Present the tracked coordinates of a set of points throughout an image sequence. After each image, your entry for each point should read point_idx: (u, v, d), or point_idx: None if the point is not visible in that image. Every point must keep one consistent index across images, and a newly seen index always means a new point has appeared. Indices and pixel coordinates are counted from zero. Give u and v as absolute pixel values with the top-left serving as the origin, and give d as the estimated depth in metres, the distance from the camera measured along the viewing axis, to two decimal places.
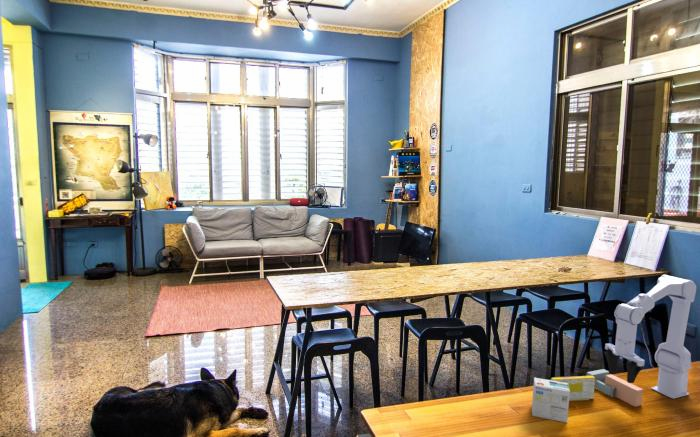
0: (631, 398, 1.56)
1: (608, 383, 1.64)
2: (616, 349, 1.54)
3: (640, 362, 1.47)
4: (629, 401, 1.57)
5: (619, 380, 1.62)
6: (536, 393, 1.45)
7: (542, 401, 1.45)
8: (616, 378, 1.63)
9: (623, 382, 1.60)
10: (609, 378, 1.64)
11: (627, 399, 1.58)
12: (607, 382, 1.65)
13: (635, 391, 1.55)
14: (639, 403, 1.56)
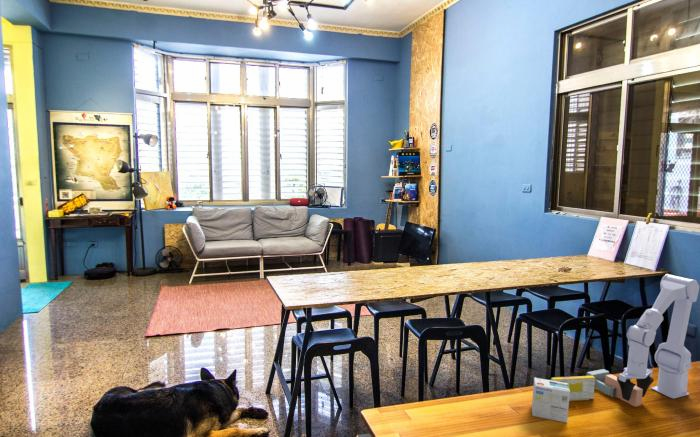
0: (631, 398, 1.56)
1: (608, 383, 1.64)
2: None
3: (619, 376, 1.54)
4: (629, 401, 1.57)
5: None
6: (536, 393, 1.45)
7: (542, 401, 1.45)
8: (616, 378, 1.63)
9: None
10: (609, 378, 1.64)
11: None
12: (607, 382, 1.65)
13: (635, 391, 1.55)
14: (639, 403, 1.56)
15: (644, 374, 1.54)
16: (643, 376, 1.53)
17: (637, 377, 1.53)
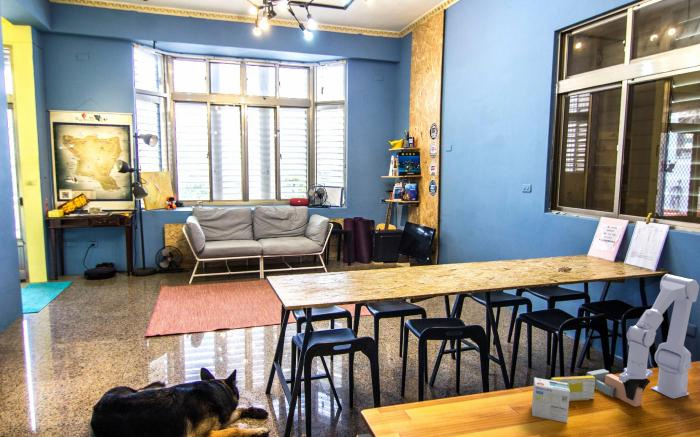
0: None
1: (608, 383, 1.64)
2: None
3: (619, 376, 1.54)
4: (629, 401, 1.57)
5: (619, 380, 1.62)
6: (536, 393, 1.45)
7: (542, 401, 1.45)
8: (616, 378, 1.63)
9: None
10: (609, 378, 1.64)
11: (627, 399, 1.58)
12: (607, 382, 1.65)
13: None
14: (639, 403, 1.56)
15: (644, 374, 1.54)
16: (643, 376, 1.53)
17: (637, 377, 1.53)
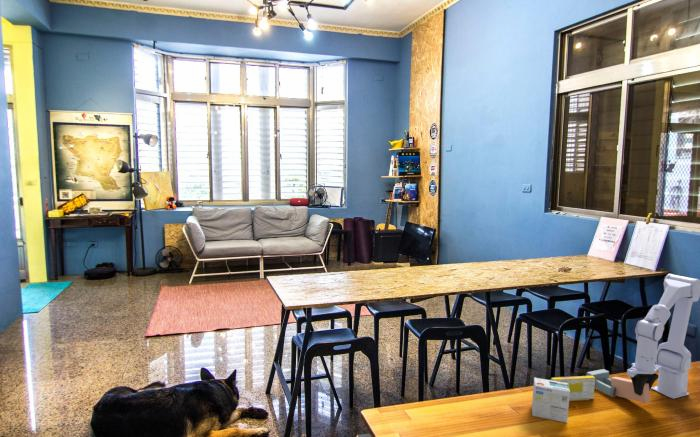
0: None
1: (615, 385, 1.62)
2: None
3: (628, 371, 1.51)
4: (638, 398, 1.54)
5: (624, 379, 1.60)
6: (536, 393, 1.45)
7: (542, 401, 1.45)
8: (621, 378, 1.61)
9: (628, 380, 1.58)
10: (614, 380, 1.62)
11: (636, 397, 1.55)
12: (614, 384, 1.62)
13: None
14: (648, 399, 1.53)
15: (653, 369, 1.51)
16: (652, 371, 1.51)
17: (645, 372, 1.50)
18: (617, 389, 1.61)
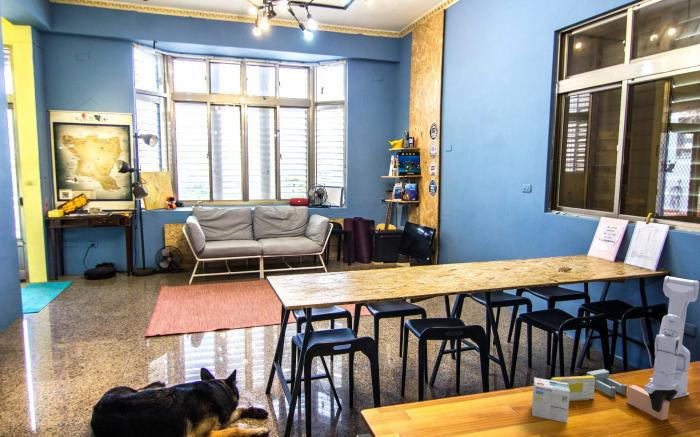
0: None
1: (631, 394, 1.56)
2: None
3: (645, 387, 1.46)
4: (655, 414, 1.49)
5: (643, 391, 1.53)
6: (536, 393, 1.45)
7: (542, 401, 1.45)
8: (640, 389, 1.55)
9: (648, 394, 1.52)
10: (633, 389, 1.56)
11: (653, 412, 1.49)
12: (631, 393, 1.56)
13: None
14: (666, 416, 1.48)
15: (671, 385, 1.45)
16: (670, 387, 1.45)
17: (664, 388, 1.45)
18: (633, 399, 1.56)
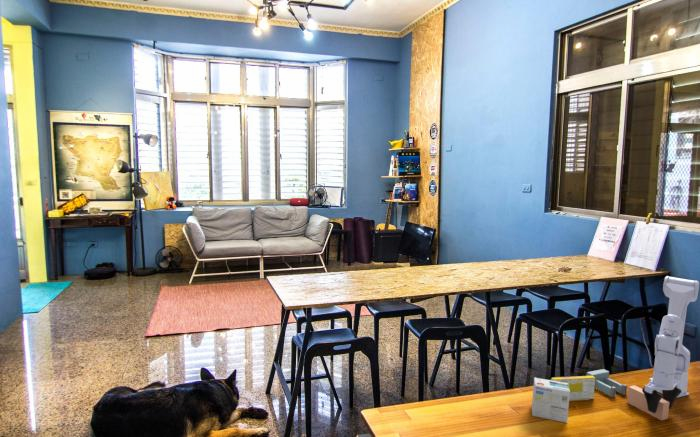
0: (656, 411, 1.48)
1: (631, 395, 1.56)
2: None
3: (645, 387, 1.46)
4: (655, 414, 1.49)
5: None
6: (536, 393, 1.45)
7: (542, 401, 1.45)
8: (640, 390, 1.55)
9: None
10: (632, 390, 1.56)
11: None
12: (631, 394, 1.56)
13: (661, 404, 1.47)
14: (665, 417, 1.48)
15: (671, 385, 1.45)
16: (670, 387, 1.45)
17: (664, 388, 1.45)
18: (633, 399, 1.56)
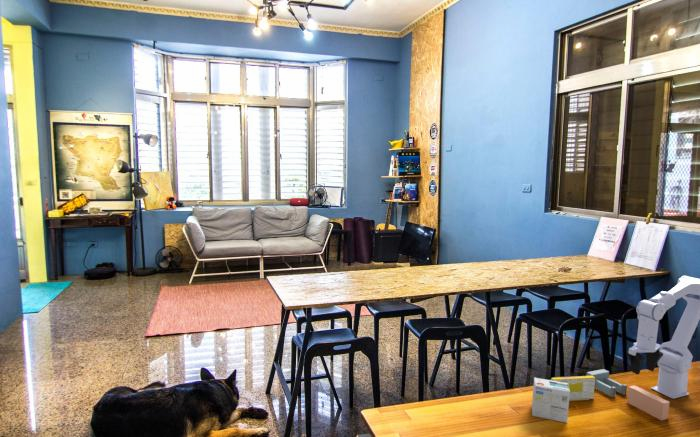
0: (656, 411, 1.48)
1: (631, 395, 1.56)
2: None
3: (629, 350, 1.56)
4: (655, 414, 1.49)
5: (643, 392, 1.53)
6: (536, 393, 1.45)
7: (542, 401, 1.45)
8: (640, 390, 1.55)
9: (648, 394, 1.52)
10: (633, 389, 1.56)
11: (652, 412, 1.49)
12: (631, 394, 1.56)
13: (661, 404, 1.47)
14: (665, 416, 1.48)
15: (654, 348, 1.55)
16: (653, 350, 1.55)
17: (647, 351, 1.55)
18: (633, 399, 1.56)
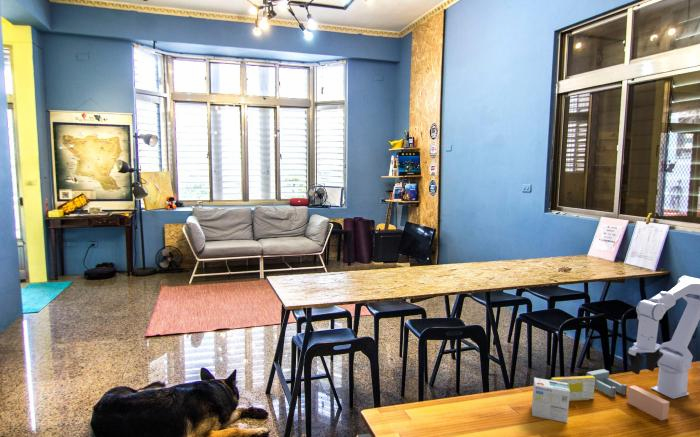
0: (656, 411, 1.48)
1: (631, 395, 1.56)
2: None
3: (629, 350, 1.56)
4: (655, 414, 1.49)
5: (643, 392, 1.53)
6: (536, 393, 1.45)
7: (542, 401, 1.45)
8: (640, 390, 1.55)
9: (648, 394, 1.52)
10: (632, 390, 1.56)
11: (652, 412, 1.49)
12: (631, 394, 1.56)
13: (661, 404, 1.47)
14: (665, 417, 1.48)
15: (654, 348, 1.55)
16: (653, 350, 1.55)
17: (647, 351, 1.55)
18: (633, 399, 1.56)
